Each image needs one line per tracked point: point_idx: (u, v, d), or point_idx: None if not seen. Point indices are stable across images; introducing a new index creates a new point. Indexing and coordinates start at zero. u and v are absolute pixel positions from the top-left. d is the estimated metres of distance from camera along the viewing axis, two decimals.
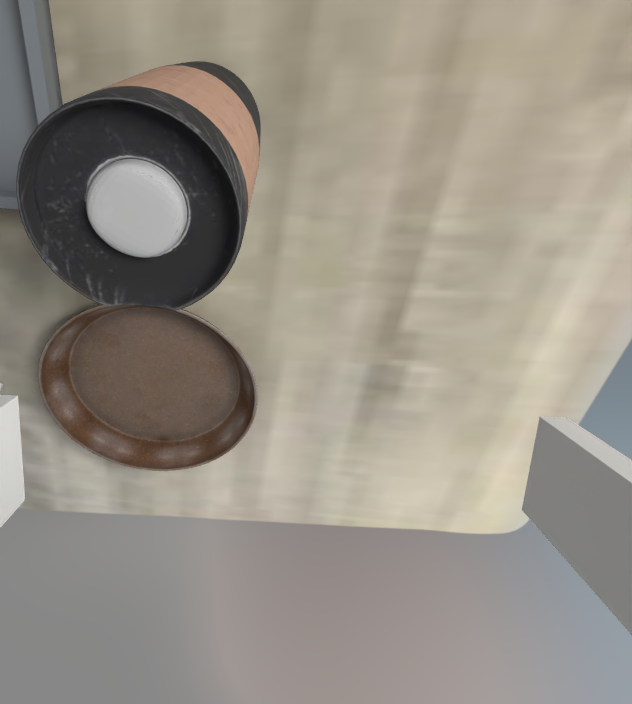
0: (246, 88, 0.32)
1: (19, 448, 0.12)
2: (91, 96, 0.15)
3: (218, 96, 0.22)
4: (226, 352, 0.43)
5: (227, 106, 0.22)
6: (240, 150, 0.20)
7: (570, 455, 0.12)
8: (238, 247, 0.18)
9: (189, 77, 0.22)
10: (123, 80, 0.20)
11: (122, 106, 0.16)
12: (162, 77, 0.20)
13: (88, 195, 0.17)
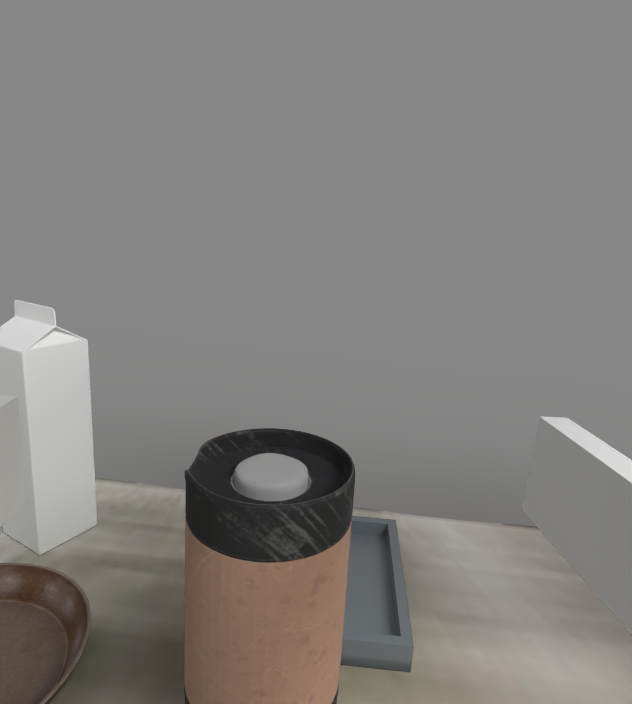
0: None
1: (19, 448, 0.12)
2: (351, 461, 0.24)
3: (330, 636, 0.22)
4: None
5: (322, 638, 0.22)
6: (300, 584, 0.20)
7: (569, 455, 0.12)
8: (238, 502, 0.19)
9: (342, 625, 0.24)
10: None
11: (344, 482, 0.23)
12: None
13: (286, 456, 0.24)
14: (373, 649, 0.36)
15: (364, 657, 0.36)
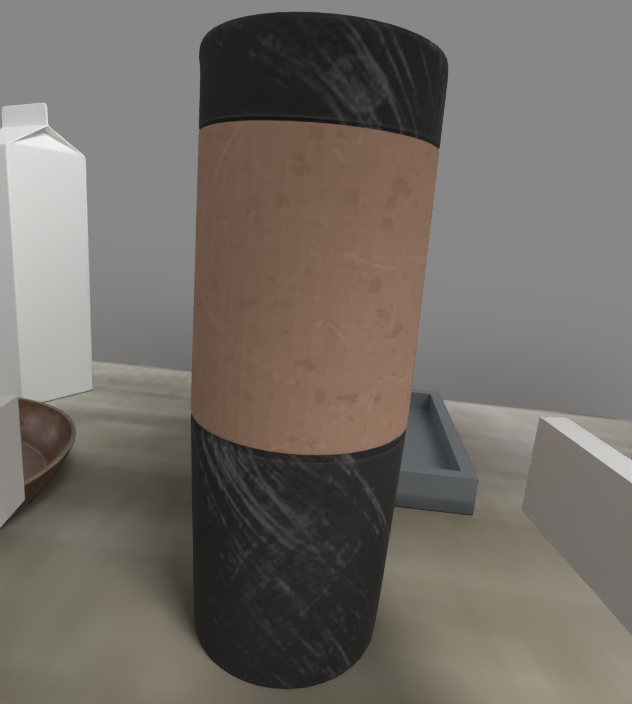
0: (349, 634, 0.17)
1: (19, 447, 0.12)
2: None
3: (406, 308, 0.15)
4: None
5: (398, 301, 0.15)
6: (373, 176, 0.13)
7: (569, 455, 0.12)
8: (283, 13, 0.12)
9: (418, 319, 0.16)
10: None
11: None
12: None
13: None
14: (426, 483, 0.28)
15: (415, 495, 0.29)
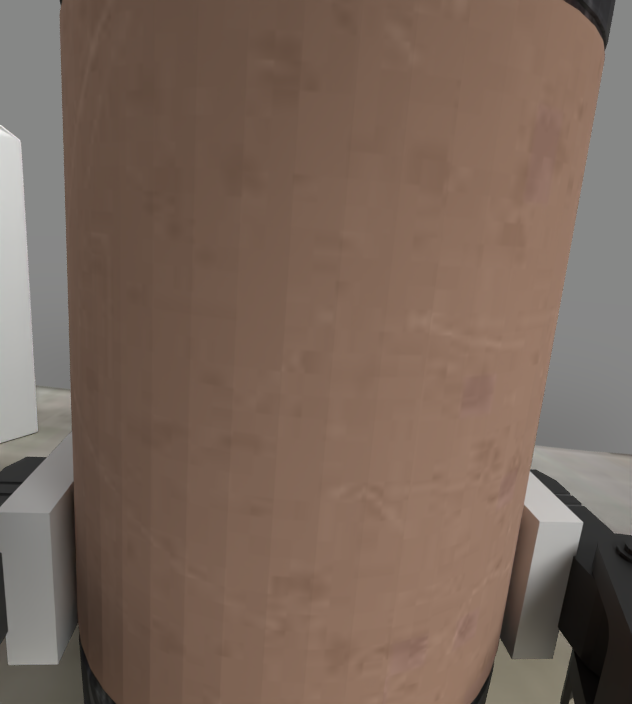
0: None
1: None
2: None
3: (530, 424, 0.07)
4: None
5: (518, 414, 0.06)
6: (489, 109, 0.05)
7: None
8: None
9: None
10: None
11: None
12: None
13: None
14: None
15: None
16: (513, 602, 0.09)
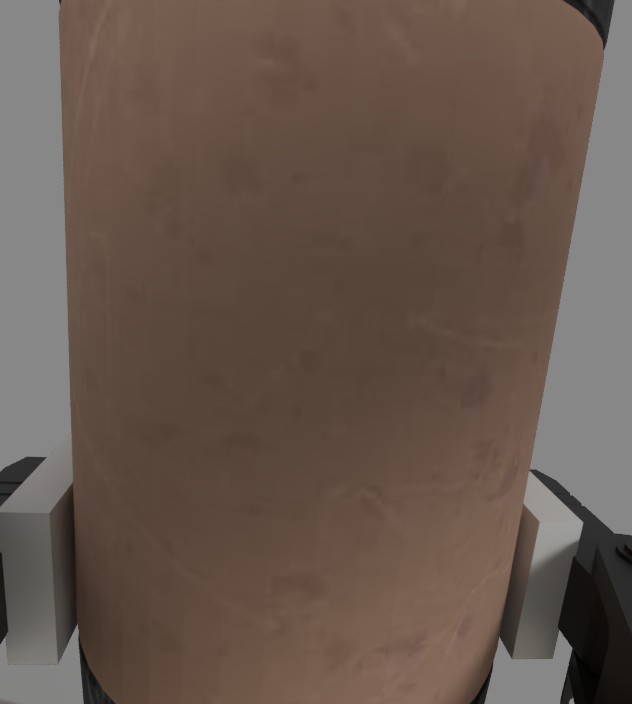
0: None
1: None
2: None
3: (529, 423, 0.07)
4: None
5: (518, 414, 0.06)
6: (488, 109, 0.05)
7: None
8: None
9: None
10: None
11: None
12: None
13: None
14: None
15: None
16: (513, 602, 0.09)
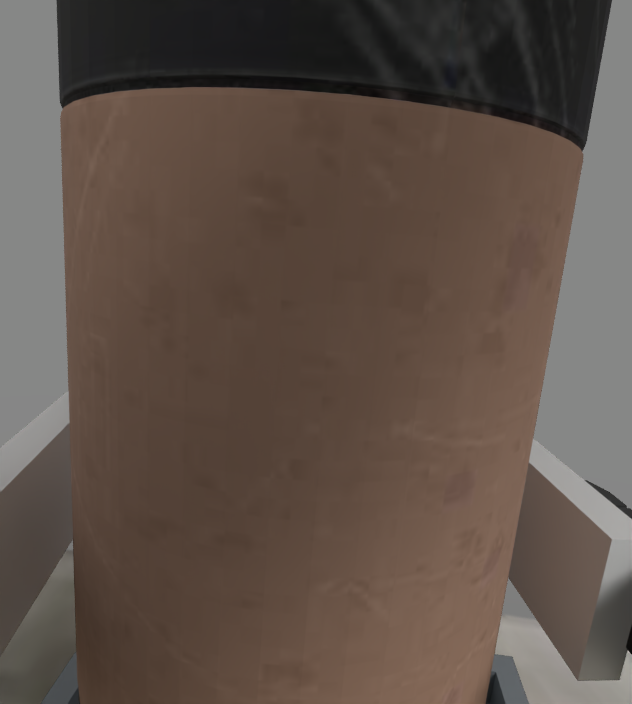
0: None
1: None
2: None
3: (513, 504, 0.07)
4: None
5: (501, 500, 0.07)
6: (467, 235, 0.05)
7: None
8: None
9: None
10: None
11: None
12: None
13: None
14: None
15: None
16: (578, 621, 0.09)
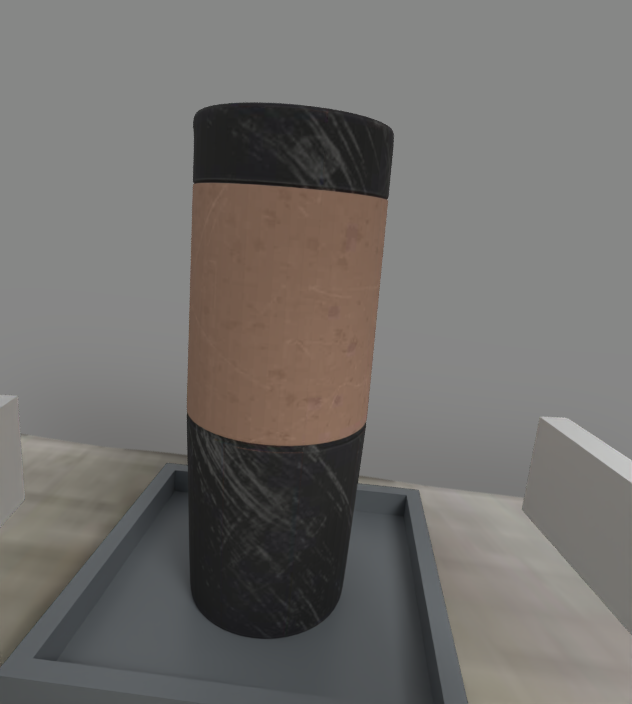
0: (318, 594, 0.21)
1: (19, 447, 0.12)
2: None
3: (361, 327, 0.19)
4: None
5: (353, 322, 0.18)
6: (330, 226, 0.17)
7: (569, 455, 0.12)
8: (258, 104, 0.16)
9: (373, 335, 0.20)
10: None
11: None
12: None
13: None
14: None
15: None
16: None
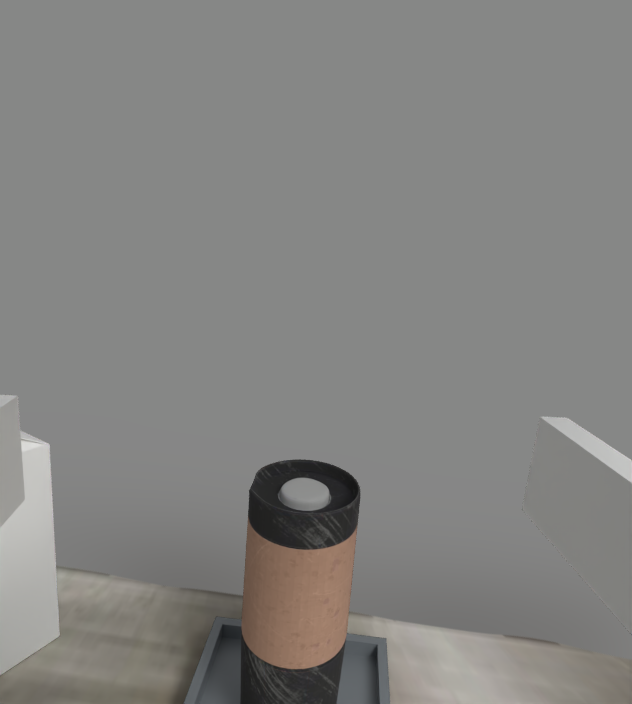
0: None
1: (19, 448, 0.12)
2: (358, 485, 0.35)
3: (341, 601, 0.34)
4: None
5: (337, 601, 0.34)
6: (324, 564, 0.32)
7: (569, 455, 0.12)
8: (287, 511, 0.31)
9: (349, 595, 0.35)
10: None
11: (353, 498, 0.35)
12: (353, 563, 0.35)
13: (314, 480, 0.36)
14: None
15: None
16: None
